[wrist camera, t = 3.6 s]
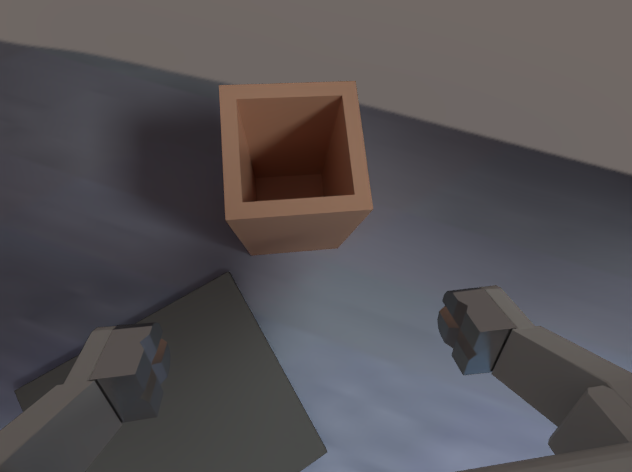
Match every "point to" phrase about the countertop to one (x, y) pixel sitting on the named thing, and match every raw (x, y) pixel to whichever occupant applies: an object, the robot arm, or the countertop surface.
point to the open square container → (293, 165)
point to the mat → (209, 396)
